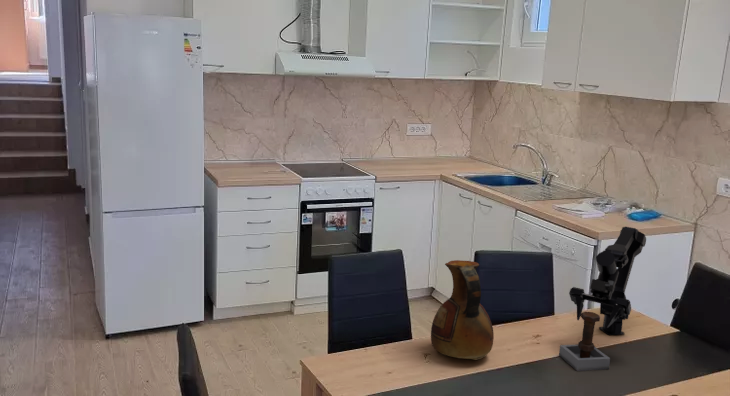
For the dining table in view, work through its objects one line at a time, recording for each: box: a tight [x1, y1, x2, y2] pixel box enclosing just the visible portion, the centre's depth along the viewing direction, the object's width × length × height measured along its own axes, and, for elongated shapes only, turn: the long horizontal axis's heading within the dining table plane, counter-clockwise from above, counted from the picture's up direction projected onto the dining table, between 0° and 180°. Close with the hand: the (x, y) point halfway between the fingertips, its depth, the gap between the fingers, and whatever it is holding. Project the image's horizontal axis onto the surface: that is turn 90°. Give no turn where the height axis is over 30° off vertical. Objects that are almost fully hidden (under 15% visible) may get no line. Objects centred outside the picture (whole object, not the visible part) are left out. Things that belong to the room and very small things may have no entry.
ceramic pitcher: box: [430, 259, 495, 361], centre depth 204 cm, size 20×20×30 cm
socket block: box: [558, 343, 611, 372], centre depth 206 cm, size 11×11×4 cm
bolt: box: [577, 311, 601, 358], centre depth 205 cm, size 6×5×15 cm
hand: (592, 323), depth 208 cm, fingers open, 9 cm apart
